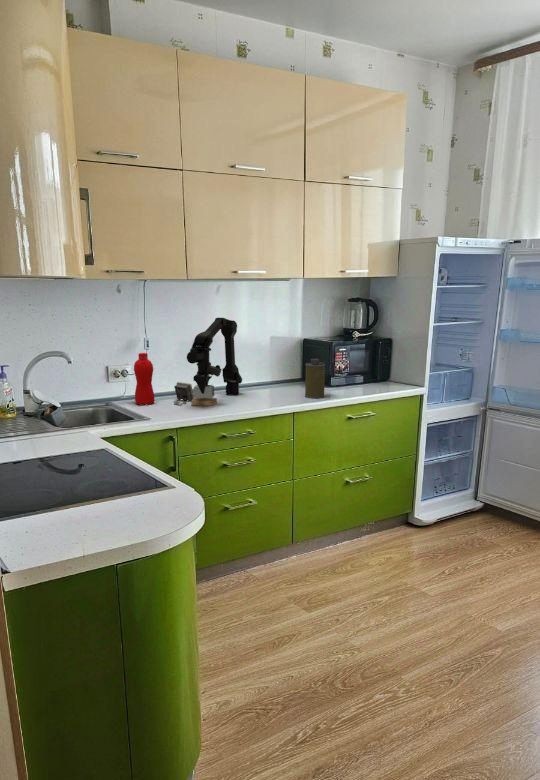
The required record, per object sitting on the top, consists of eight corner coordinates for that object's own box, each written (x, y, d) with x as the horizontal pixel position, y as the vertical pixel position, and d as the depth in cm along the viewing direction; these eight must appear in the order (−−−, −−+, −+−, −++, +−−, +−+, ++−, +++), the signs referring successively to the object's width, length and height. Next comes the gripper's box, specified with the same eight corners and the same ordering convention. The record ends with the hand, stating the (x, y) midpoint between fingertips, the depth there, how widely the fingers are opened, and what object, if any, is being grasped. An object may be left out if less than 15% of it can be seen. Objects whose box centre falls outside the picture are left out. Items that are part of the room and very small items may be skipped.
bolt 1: (182, 405, 268) (182, 402, 267) (180, 406, 267) (180, 402, 266) (176, 404, 271) (176, 400, 270) (173, 404, 270) (173, 401, 269)
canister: (312, 399, 284) (313, 361, 280) (300, 395, 292) (301, 358, 288) (329, 397, 289) (330, 359, 286) (317, 393, 298) (318, 357, 294)
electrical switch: (195, 400, 280) (193, 382, 277) (188, 403, 275) (186, 385, 273) (181, 398, 285) (179, 381, 282) (174, 401, 280) (172, 383, 278)
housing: (196, 395, 273) (196, 383, 272) (214, 395, 272) (214, 384, 271) (193, 397, 267) (193, 386, 266) (212, 398, 267) (211, 386, 265)
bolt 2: (186, 403, 273) (186, 400, 272) (186, 404, 271) (186, 400, 271) (176, 403, 271) (176, 400, 271) (176, 404, 270) (176, 401, 270)
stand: (216, 403, 274) (216, 398, 273) (213, 406, 266) (213, 401, 265) (195, 402, 275) (194, 397, 274) (191, 406, 267) (191, 400, 266)
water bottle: (153, 400, 279) (151, 351, 274) (155, 404, 269) (153, 354, 264) (134, 401, 277) (132, 351, 272) (135, 405, 267) (133, 354, 262)
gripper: (216, 364, 256) (216, 396, 259) (223, 358, 274) (223, 389, 278) (192, 363, 257) (193, 396, 260) (201, 357, 275) (202, 388, 279)
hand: (204, 392), depth 269 cm, fingers closed on housing, 5 cm apart
